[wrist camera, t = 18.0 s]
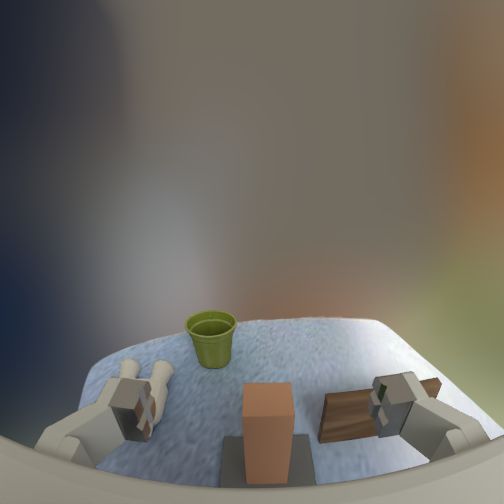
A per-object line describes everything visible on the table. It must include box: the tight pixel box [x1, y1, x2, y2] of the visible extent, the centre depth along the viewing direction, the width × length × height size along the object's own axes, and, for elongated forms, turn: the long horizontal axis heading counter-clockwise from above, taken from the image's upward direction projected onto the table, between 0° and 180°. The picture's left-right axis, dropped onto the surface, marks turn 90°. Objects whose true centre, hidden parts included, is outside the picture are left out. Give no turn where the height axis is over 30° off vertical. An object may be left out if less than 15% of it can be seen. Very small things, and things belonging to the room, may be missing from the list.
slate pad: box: [220, 434, 316, 488], centre depth 34 cm, size 12×12×1 cm
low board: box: [318, 378, 442, 443], centre depth 38 cm, size 2×17×9 cm, turn 90°
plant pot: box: [185, 310, 237, 369], centre depth 58 cm, size 9×9×9 cm
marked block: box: [242, 382, 295, 484], centre depth 32 cm, size 5×5×14 cm
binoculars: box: [119, 359, 174, 438], centre depth 46 cm, size 10×16×5 cm, turn 3°
